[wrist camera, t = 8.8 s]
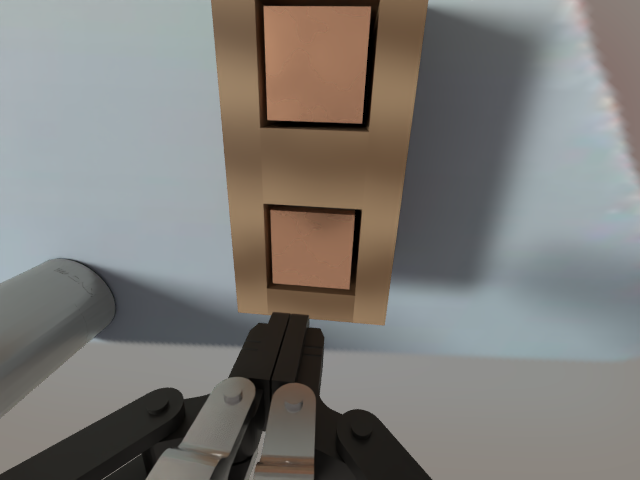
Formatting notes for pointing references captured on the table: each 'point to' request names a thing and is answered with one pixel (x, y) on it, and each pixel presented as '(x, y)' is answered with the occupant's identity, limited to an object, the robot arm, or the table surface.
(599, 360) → the table surface
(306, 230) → the peg far
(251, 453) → the robot arm
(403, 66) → the walnut block
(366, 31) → the peg near
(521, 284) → the table surface
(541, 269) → the table surface
